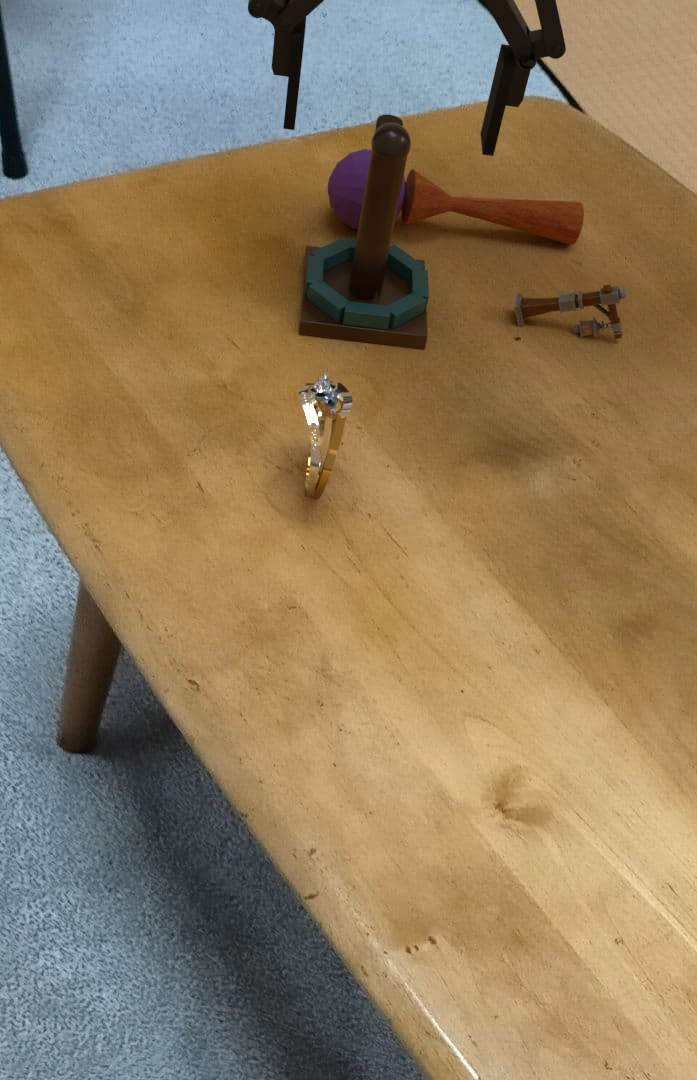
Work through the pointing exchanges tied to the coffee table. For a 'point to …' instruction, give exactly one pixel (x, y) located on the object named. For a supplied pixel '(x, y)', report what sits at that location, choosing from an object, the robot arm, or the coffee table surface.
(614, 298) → the wooden post with brackets
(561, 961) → the coffee table surface
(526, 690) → the coffee table surface
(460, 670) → the coffee table surface
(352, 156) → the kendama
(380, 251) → the stand
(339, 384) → the ring
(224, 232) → the coffee table surface
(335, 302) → the ring
